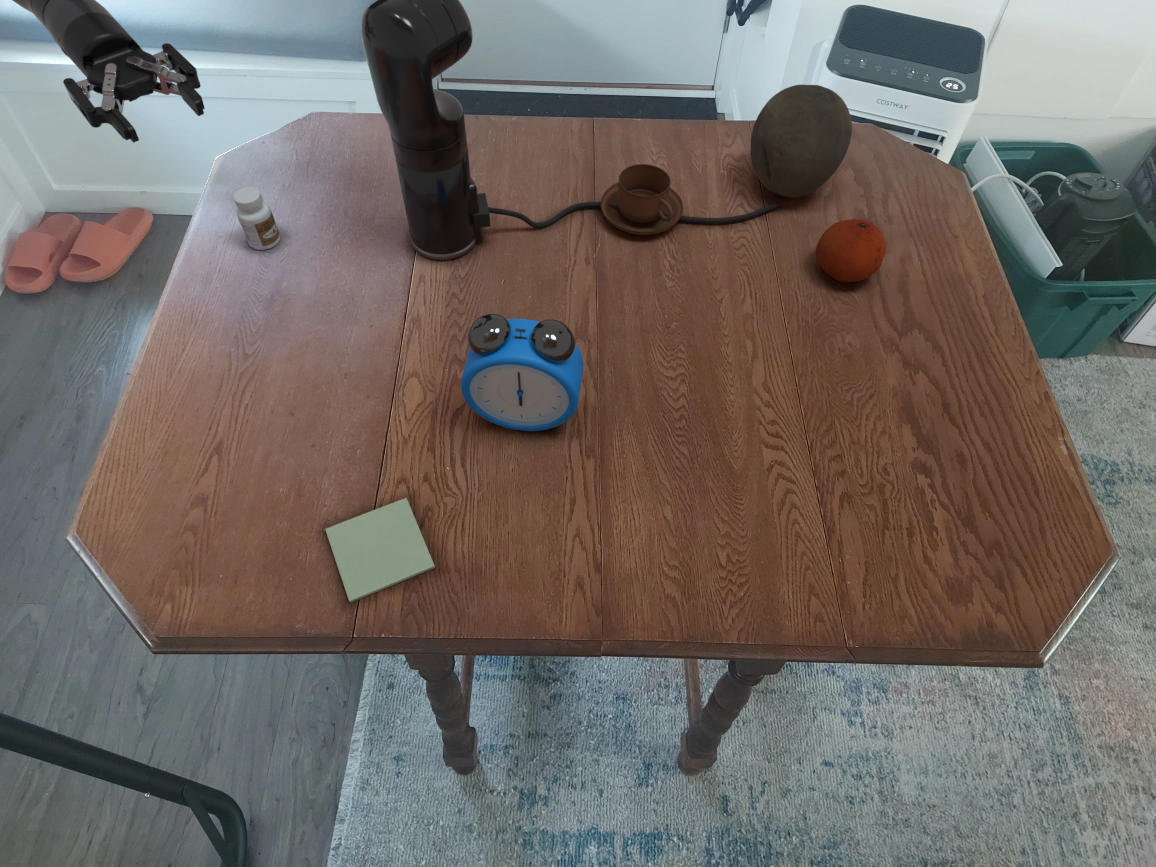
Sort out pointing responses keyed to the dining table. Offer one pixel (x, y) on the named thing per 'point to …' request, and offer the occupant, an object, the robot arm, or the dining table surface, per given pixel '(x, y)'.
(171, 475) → the dining table surface
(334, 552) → the coaster
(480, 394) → the alarm clock
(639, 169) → the cup and saucer
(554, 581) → the dining table surface
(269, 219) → the pill bottle
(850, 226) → the fruit
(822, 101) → the kiwi
